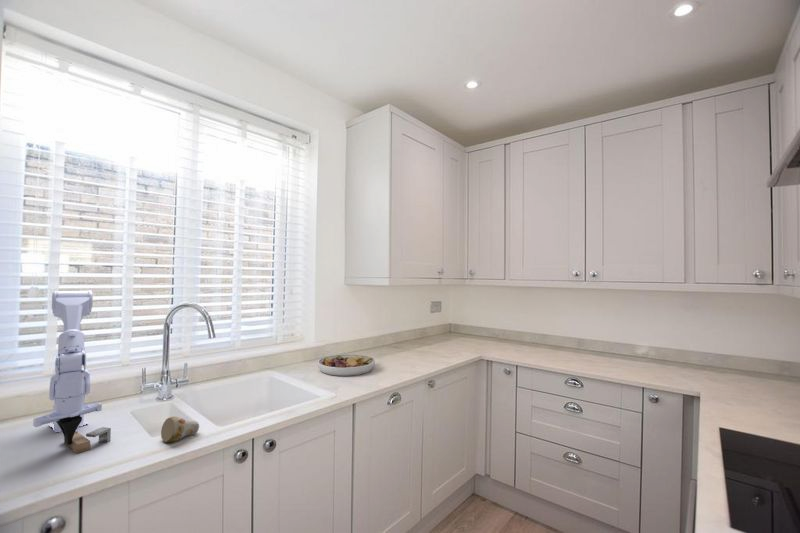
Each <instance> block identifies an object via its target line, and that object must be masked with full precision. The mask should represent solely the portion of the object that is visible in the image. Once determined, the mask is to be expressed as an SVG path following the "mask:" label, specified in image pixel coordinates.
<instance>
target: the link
mask: <svg viewBox="0 0 800 533" xmlns="http://www.w3.org/2000/svg"><path fill="white" fill-rule="evenodd" d="M63 444H64V445H66V446H67V447H68V448H70V449H71V450H72V451H73V452H75V453H76V454H80V453H83V452H86V451H90V450H91V440H89V438H87V437H86V436H84V435H83V434H81V433H80V432H78V431H77V430H76V431H75V433H74V436H73V439H72V444H70V445H67V444H65V438H64V437H63Z"/></svg>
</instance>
